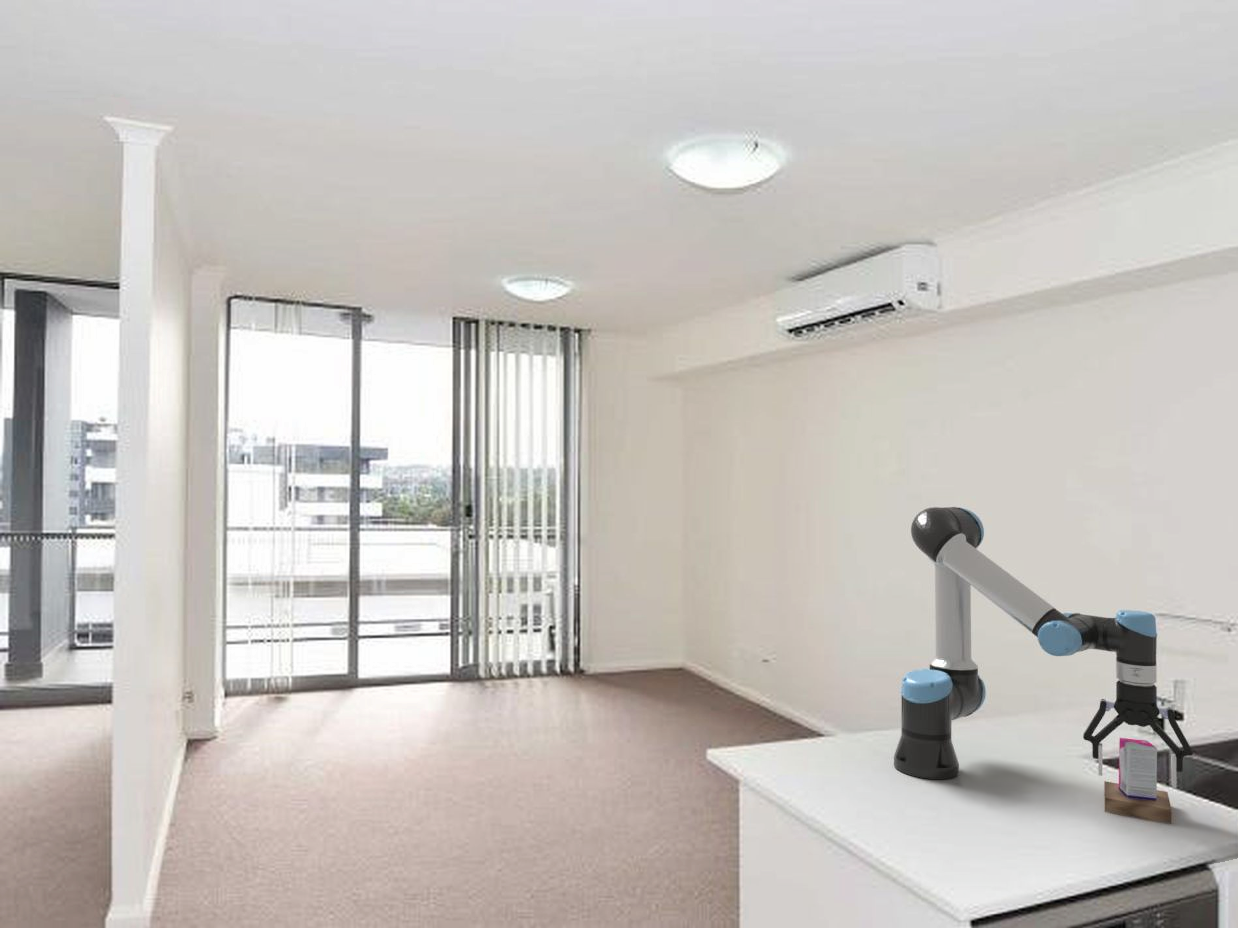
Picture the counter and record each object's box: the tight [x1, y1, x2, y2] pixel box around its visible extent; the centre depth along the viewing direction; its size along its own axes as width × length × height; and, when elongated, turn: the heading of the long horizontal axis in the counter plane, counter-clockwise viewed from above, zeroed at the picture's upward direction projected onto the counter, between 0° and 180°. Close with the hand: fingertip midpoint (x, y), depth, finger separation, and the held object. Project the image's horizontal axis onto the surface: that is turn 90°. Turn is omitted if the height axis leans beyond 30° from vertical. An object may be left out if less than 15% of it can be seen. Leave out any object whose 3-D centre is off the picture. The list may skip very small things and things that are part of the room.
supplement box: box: [1118, 737, 1158, 801], centre depth 179 cm, size 6×6×12 cm
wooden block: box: [1103, 780, 1173, 825], centre depth 179 cm, size 12×12×3 cm
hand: (1136, 779), depth 179 cm, fingers open, 13 cm apart
